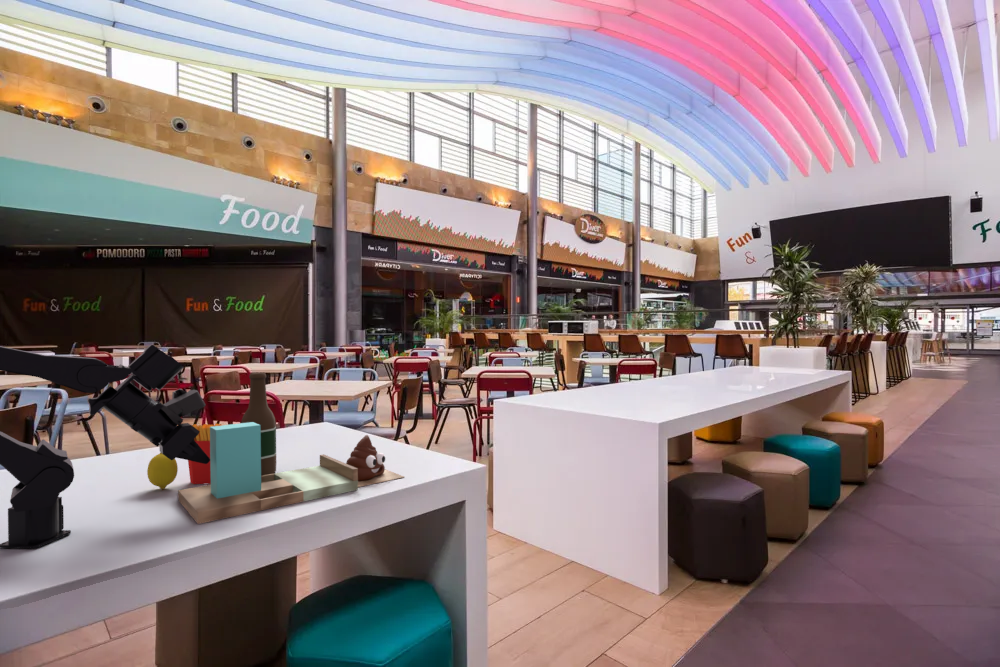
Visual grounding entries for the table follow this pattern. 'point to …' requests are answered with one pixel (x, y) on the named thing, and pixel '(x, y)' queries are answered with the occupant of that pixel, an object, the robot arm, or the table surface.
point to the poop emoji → (366, 460)
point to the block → (235, 459)
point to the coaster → (380, 478)
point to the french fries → (199, 470)
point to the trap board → (273, 491)
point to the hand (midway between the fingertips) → (208, 461)
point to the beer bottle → (262, 422)
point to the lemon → (162, 470)
